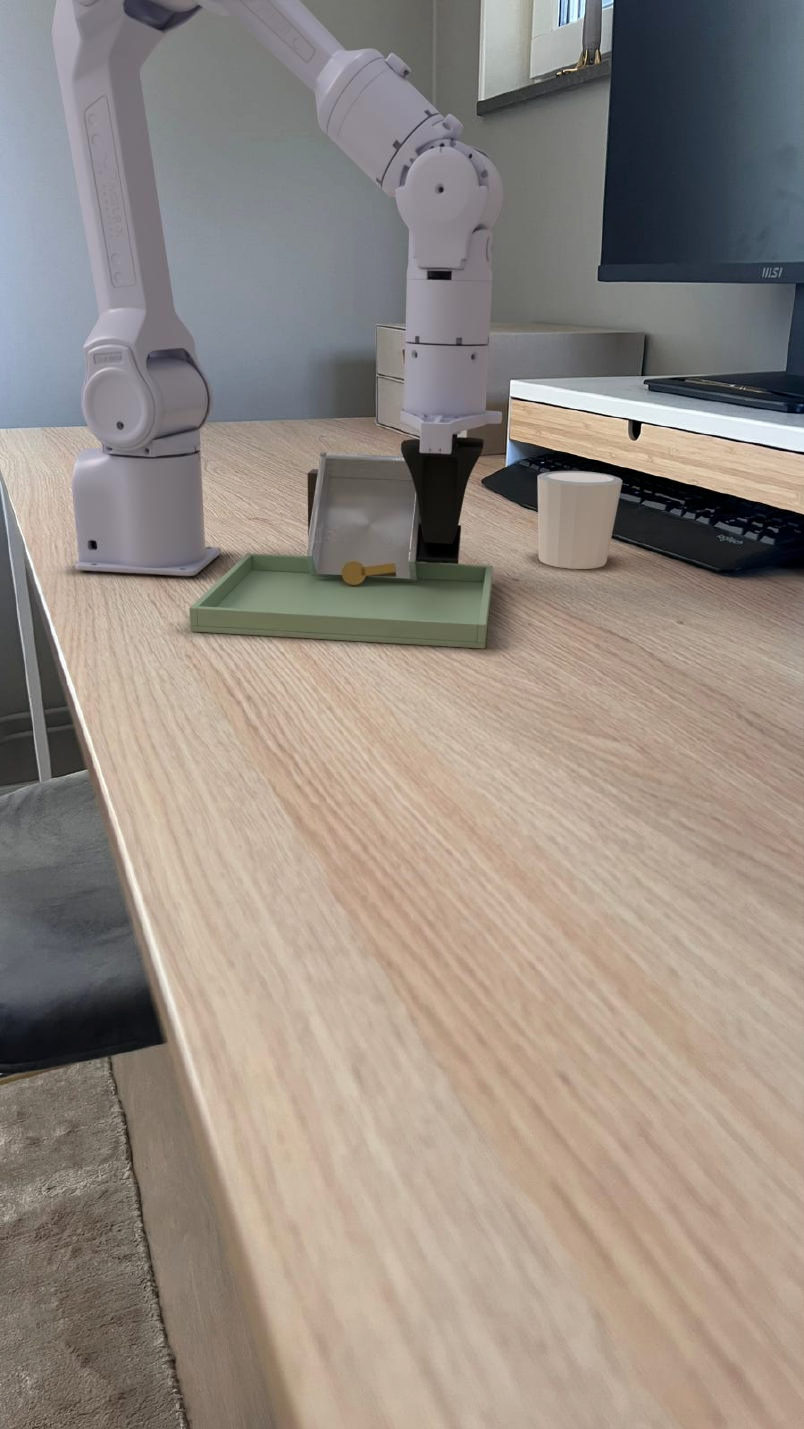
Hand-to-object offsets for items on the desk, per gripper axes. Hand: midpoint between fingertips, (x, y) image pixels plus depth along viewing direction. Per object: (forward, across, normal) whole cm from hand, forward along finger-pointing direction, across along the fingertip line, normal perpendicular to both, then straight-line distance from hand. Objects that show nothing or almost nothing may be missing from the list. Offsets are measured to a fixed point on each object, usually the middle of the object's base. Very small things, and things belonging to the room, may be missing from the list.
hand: (439, 541), depth 75 cm
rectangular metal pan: (0, +3, +4) cm, 5 cm away
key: (+2, 0, +5) cm, 6 cm away
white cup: (+4, +12, -10) cm, 16 cm away
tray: (+4, -5, +6) cm, 8 cm away
